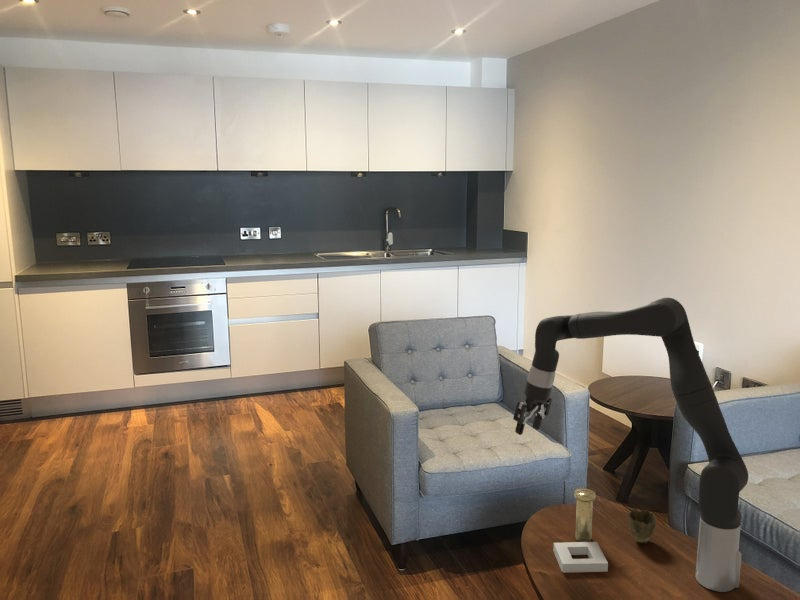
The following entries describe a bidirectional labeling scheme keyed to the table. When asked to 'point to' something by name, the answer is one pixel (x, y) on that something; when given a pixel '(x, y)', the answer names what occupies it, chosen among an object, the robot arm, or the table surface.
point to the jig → (568, 564)
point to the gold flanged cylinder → (584, 514)
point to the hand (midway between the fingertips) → (527, 431)
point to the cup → (642, 525)
